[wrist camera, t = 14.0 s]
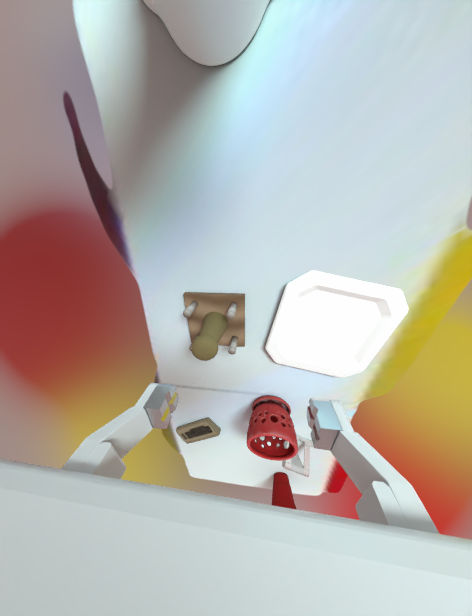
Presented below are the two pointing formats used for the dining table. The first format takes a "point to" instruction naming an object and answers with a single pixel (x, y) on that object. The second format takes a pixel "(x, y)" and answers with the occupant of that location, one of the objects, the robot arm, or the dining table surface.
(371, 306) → the plate
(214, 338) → the olive gourd
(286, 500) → the plastic cup
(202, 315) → the standoff base
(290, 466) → the portable electronic device stand
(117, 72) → the dining table surface
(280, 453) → the plant pot
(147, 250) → the dining table surface
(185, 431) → the computer
